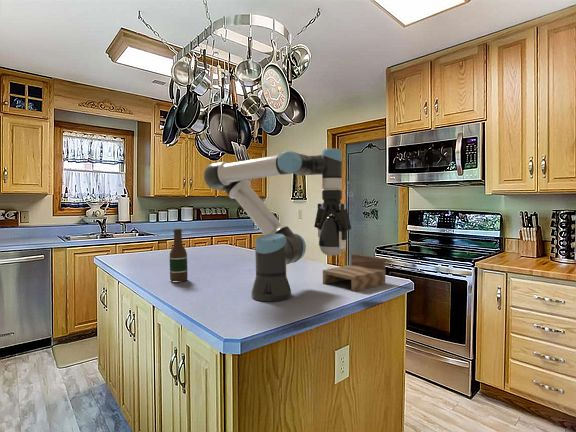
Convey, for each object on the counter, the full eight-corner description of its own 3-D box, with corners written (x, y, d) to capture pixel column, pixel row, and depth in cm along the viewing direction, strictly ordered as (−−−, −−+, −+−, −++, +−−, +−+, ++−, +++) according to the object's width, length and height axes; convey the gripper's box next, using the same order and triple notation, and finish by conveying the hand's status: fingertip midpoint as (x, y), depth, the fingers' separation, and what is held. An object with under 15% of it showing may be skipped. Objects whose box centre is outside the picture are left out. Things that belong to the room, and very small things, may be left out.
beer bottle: (188, 281, 163) (187, 229, 162) (170, 283, 160) (169, 230, 159) (186, 278, 170) (185, 228, 169) (169, 279, 167) (168, 228, 166)
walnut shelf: (354, 291, 142) (354, 264, 141) (322, 283, 156) (322, 258, 155) (385, 283, 154) (385, 258, 153) (353, 277, 168) (353, 253, 167)
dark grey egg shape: (324, 257, 131) (324, 216, 131) (315, 253, 141) (315, 214, 141) (350, 255, 134) (350, 215, 133) (338, 251, 144) (338, 214, 143)
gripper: (361, 189, 130) (361, 249, 131) (318, 190, 148) (318, 243, 149) (347, 188, 125) (347, 251, 126) (305, 190, 143) (305, 245, 144)
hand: (331, 247), depth 138 cm, fingers closed on dark grey egg shape, 10 cm apart
